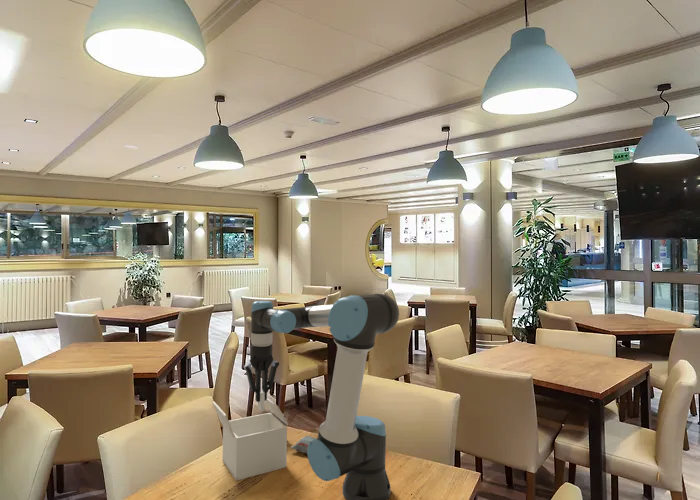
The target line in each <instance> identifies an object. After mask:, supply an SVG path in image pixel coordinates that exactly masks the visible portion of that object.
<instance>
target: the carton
mask: <svg viewBox="0 0 700 500" xmlns="http://www.w3.org/2000/svg"><path fill="white" fill-rule="evenodd" d="M229 423H230V425H231V428H232V430H233V433H234V435H235V438H233V437H232V435H231V434H230V433H229V432H228V430H227V429H226V428H225V427H224V426H223V425H222V462H223V464H224V465H225V466H226V468H227V470H228V471H229V472H230V474H231V476H232V477H233V479H234V480H235V481H239V480H243V479H247V478H251V477H254V476H255V477H256V476H259V475H262V474H266V473H270V472H273V471H276V470H281V469H283V468H287V465H288V463H287V461H288V460H287V455H288V426H287V425H286V424H285V425H284V424H283V423H282V422H281V421H279V420H278V419H277V418H276V417H275V416H274V415H272V414H271V412H267V413H260V414H256V415H252V416H245V417H241V418H237V419H236V418H235V419H230V420H229Z"/></svg>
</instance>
